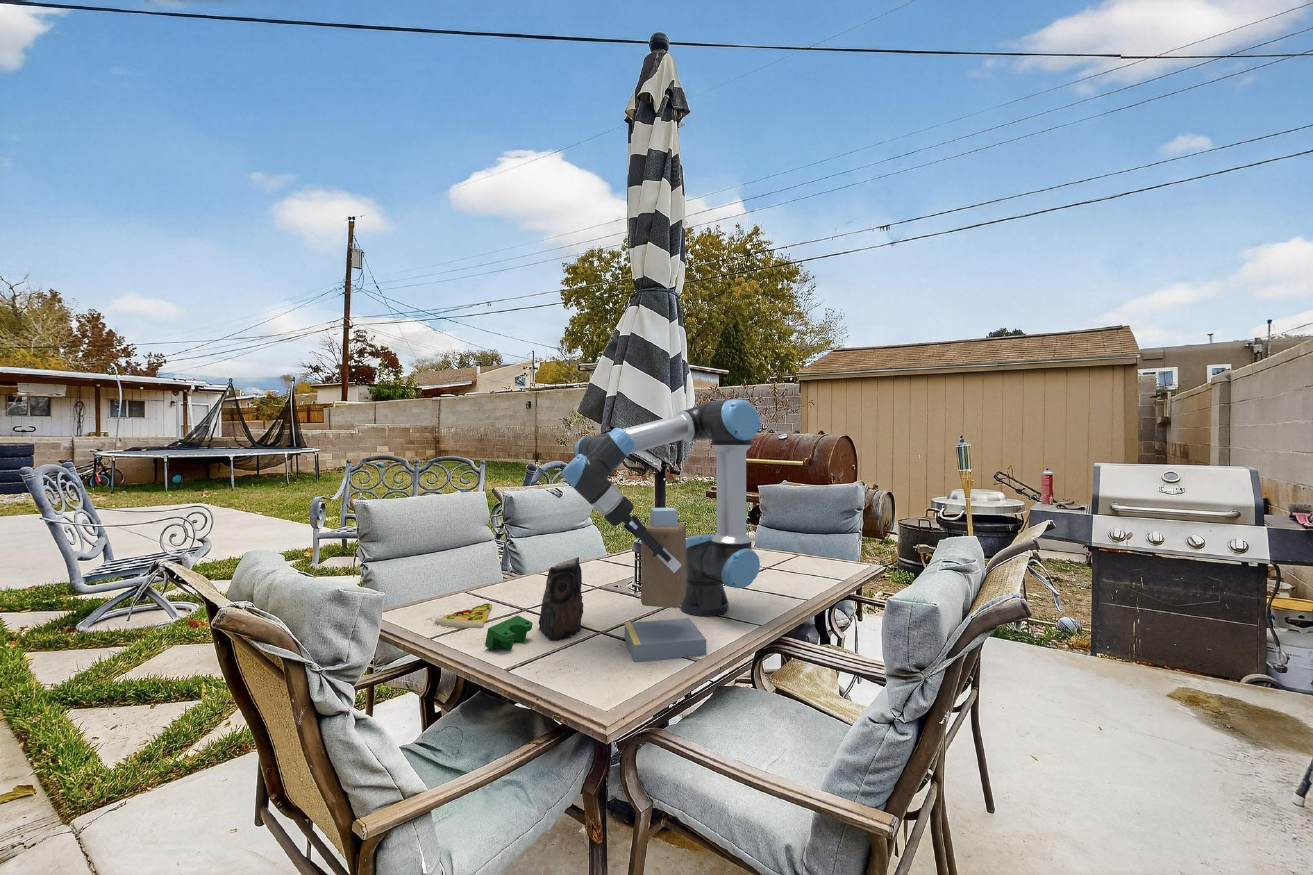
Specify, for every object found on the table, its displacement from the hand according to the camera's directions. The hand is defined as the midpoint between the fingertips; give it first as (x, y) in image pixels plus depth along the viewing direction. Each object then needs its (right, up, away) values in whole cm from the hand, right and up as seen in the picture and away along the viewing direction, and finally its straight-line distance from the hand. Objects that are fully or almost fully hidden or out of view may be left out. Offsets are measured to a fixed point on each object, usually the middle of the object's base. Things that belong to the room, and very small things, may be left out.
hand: (671, 562), depth 140 cm
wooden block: (-2, -10, 0) cm, 10 cm away
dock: (-2, -21, 0) cm, 21 cm away
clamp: (-42, -22, +1) cm, 47 cm away
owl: (-31, -22, +11) cm, 39 cm away
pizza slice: (-59, -23, +24) cm, 68 cm away
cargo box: (-2, +10, 0) cm, 10 cm away
